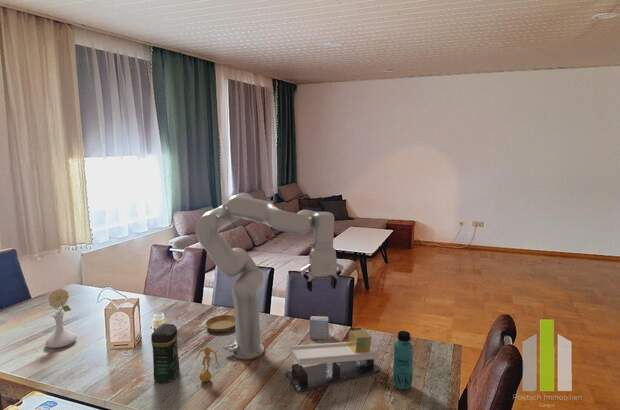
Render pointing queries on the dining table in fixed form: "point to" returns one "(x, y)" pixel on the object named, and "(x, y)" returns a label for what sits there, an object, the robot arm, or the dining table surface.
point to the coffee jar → (165, 353)
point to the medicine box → (319, 327)
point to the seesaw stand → (329, 373)
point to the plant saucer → (221, 323)
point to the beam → (327, 353)
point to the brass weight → (359, 341)
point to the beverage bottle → (403, 361)
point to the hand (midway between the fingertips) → (321, 288)
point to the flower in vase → (60, 320)
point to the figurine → (206, 374)
